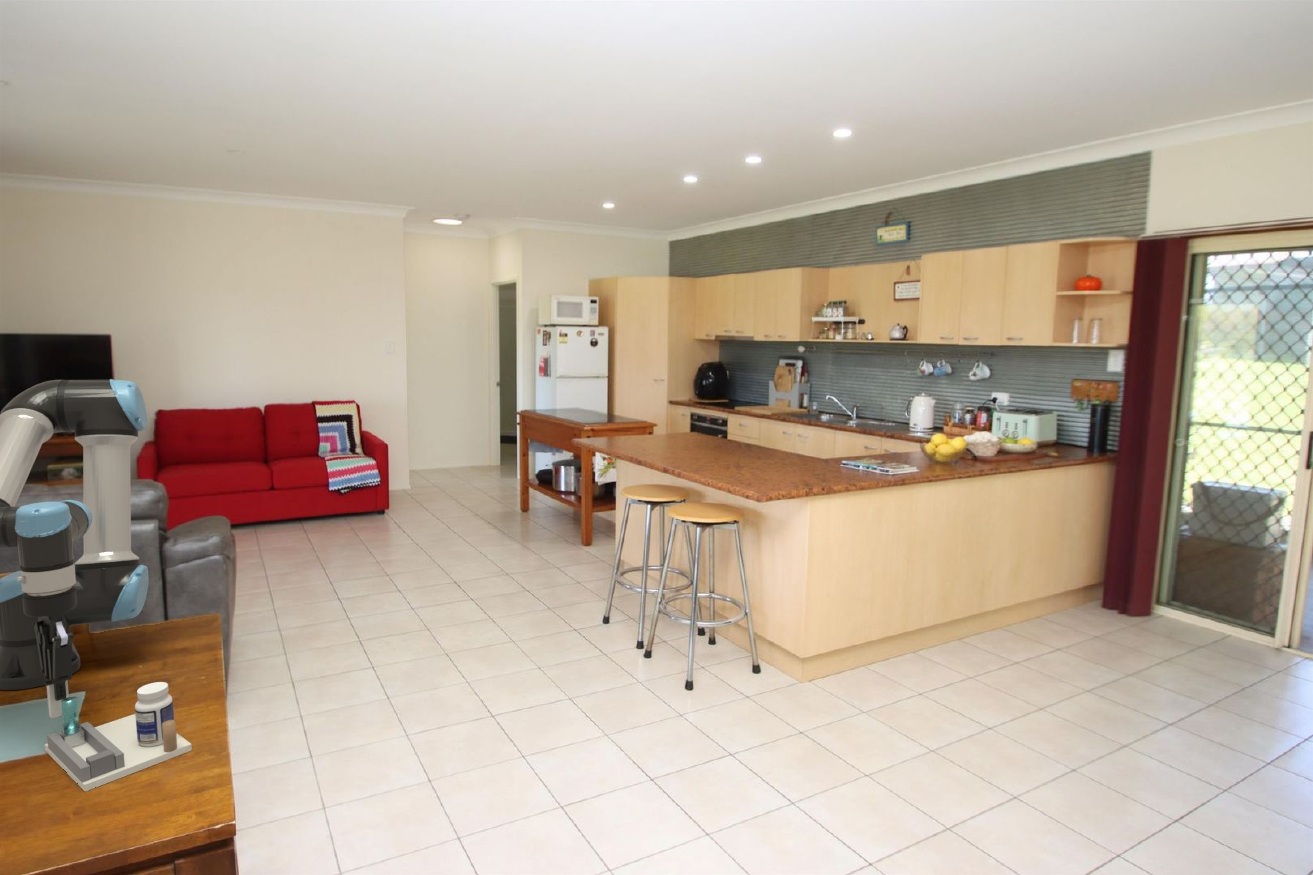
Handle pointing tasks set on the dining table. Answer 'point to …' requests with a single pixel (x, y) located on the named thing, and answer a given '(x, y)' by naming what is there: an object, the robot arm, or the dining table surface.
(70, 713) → the pin
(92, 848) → the dining table surface
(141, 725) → the pill bottle
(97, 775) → the board
